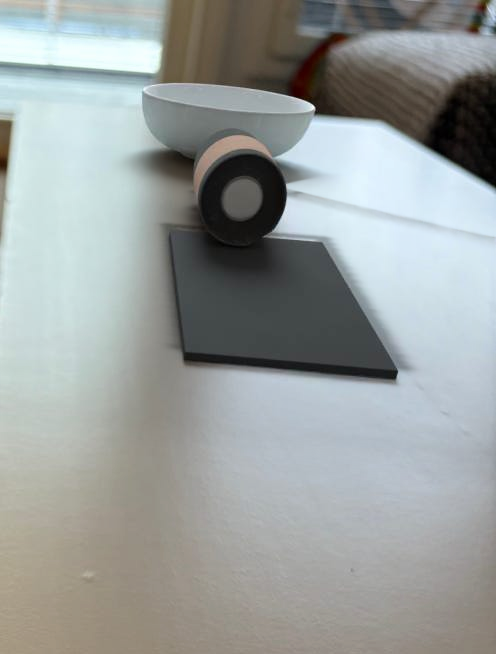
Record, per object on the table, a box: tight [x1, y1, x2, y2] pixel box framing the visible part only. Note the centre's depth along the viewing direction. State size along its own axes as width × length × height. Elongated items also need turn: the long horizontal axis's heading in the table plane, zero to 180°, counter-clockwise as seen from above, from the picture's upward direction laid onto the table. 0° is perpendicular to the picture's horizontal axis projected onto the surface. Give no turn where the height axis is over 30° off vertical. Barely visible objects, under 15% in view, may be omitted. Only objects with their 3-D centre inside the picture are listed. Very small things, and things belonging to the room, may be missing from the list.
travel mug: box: [192, 128, 288, 246], centre depth 92 cm, size 8×8×20 cm
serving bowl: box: [141, 82, 316, 161], centre depth 120 cm, size 21×21×7 cm
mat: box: [168, 229, 399, 380], centre depth 77 cm, size 32×14×1 cm, turn 174°
